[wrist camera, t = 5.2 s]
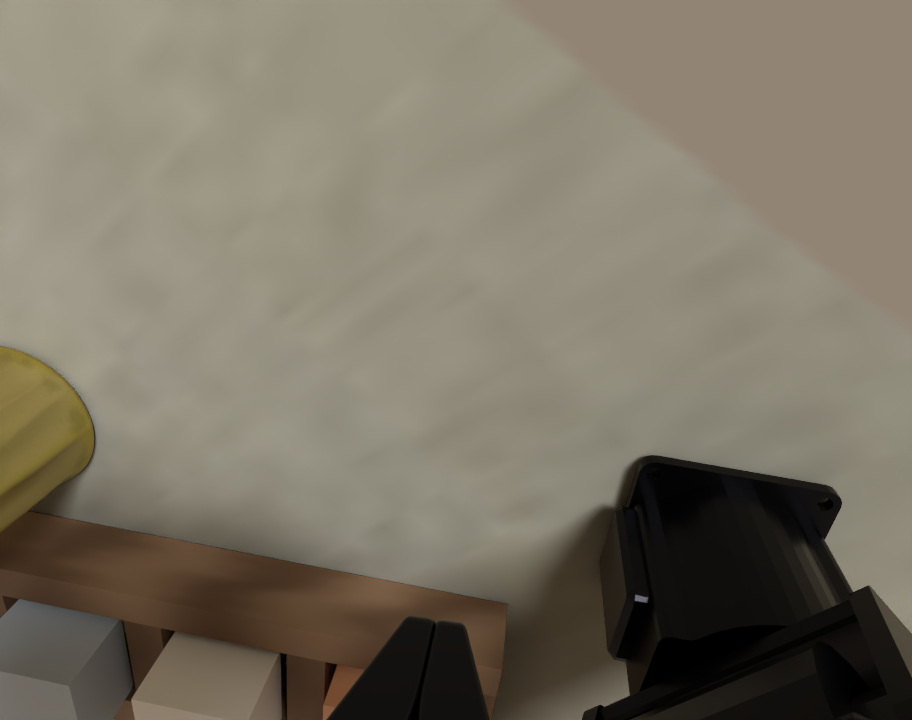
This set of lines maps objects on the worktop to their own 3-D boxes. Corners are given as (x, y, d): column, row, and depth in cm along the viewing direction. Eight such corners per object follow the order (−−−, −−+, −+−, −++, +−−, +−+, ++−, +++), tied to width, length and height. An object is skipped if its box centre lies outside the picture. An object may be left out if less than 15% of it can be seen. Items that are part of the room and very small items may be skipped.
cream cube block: (280, 650, 24) (246, 724, 22) (281, 717, 26) (250, 793, 23) (176, 628, 24) (130, 699, 22) (185, 697, 26) (144, 770, 24)
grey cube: (121, 617, 25) (69, 686, 22) (133, 686, 27) (87, 757, 24) (21, 597, 25) (-43, 662, 22) (40, 666, 27) (-16, 734, 24)
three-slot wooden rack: (507, 604, 25) (502, 670, 22) (480, 727, 29) (473, 797, 26) (16, 508, 27) (-44, 559, 24) (50, 637, 30) (1, 694, 28)
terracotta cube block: (450, 656, 25) (438, 729, 22) (439, 722, 27) (427, 796, 24) (347, 635, 25) (323, 705, 22) (343, 702, 27) (321, 773, 24)
